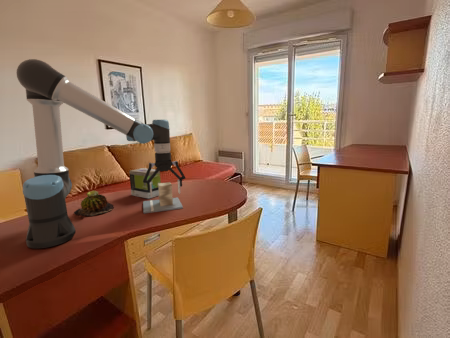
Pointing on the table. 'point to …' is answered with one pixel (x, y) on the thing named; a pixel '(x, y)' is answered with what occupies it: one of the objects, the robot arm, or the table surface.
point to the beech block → (165, 194)
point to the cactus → (94, 205)
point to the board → (155, 206)
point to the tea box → (139, 186)
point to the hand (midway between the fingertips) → (165, 194)
